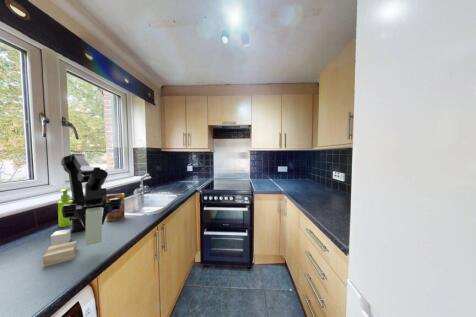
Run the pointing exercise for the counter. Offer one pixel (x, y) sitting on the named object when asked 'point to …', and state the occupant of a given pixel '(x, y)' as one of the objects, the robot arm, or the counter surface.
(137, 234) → the counter surface
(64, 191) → the soap dispenser
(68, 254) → the oak base block
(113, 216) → the candy box
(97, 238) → the sage pillar
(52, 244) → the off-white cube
